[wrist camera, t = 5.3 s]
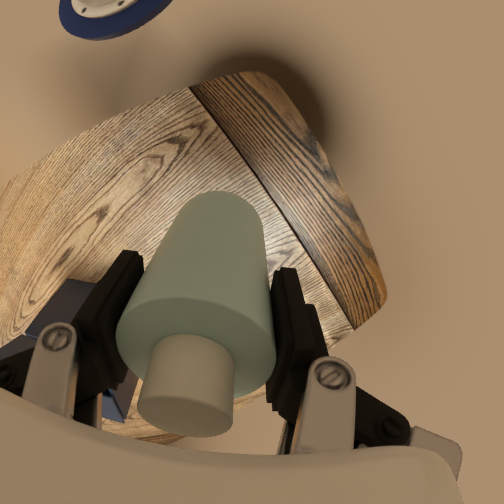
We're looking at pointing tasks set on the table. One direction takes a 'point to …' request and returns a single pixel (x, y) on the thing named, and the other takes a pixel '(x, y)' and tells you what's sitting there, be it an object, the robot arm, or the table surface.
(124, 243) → the table surface
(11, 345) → the flap
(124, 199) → the table surface
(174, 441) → the table surface
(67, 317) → the carton
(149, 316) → the bottle
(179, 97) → the table surface
